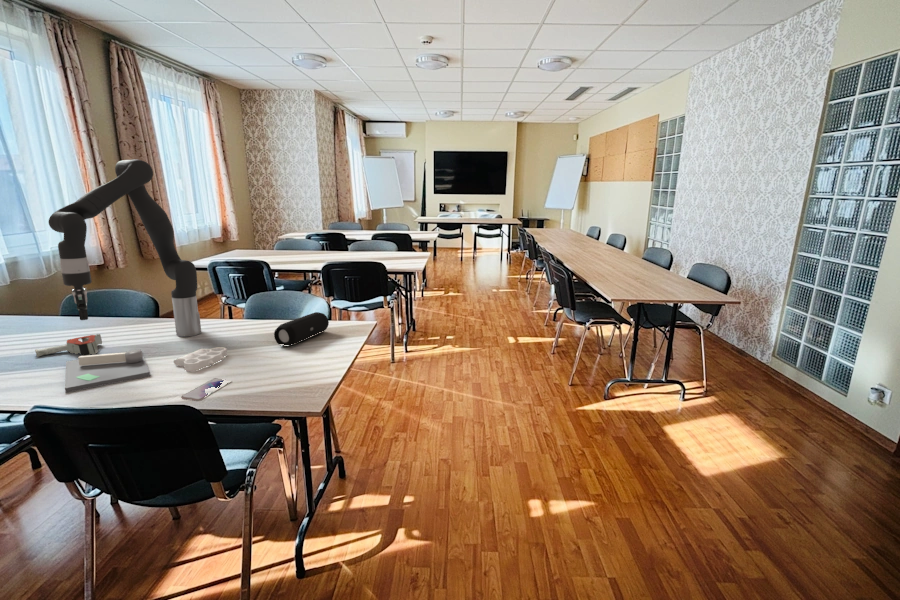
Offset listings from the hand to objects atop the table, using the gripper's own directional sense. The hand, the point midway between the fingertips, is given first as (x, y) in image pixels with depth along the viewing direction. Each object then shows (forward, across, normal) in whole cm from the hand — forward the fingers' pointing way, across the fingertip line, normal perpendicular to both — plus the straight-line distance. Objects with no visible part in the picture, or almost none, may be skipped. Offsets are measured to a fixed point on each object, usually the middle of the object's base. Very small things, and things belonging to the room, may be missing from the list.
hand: (84, 318), depth 155 cm
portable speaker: (+18, -17, -72) cm, 76 cm away
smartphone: (+18, -48, -28) cm, 58 cm away
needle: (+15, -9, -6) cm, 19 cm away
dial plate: (+17, -11, -4) cm, 21 cm away
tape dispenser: (+18, +19, +4) cm, 27 cm away
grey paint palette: (+18, -21, -32) cm, 42 cm away
